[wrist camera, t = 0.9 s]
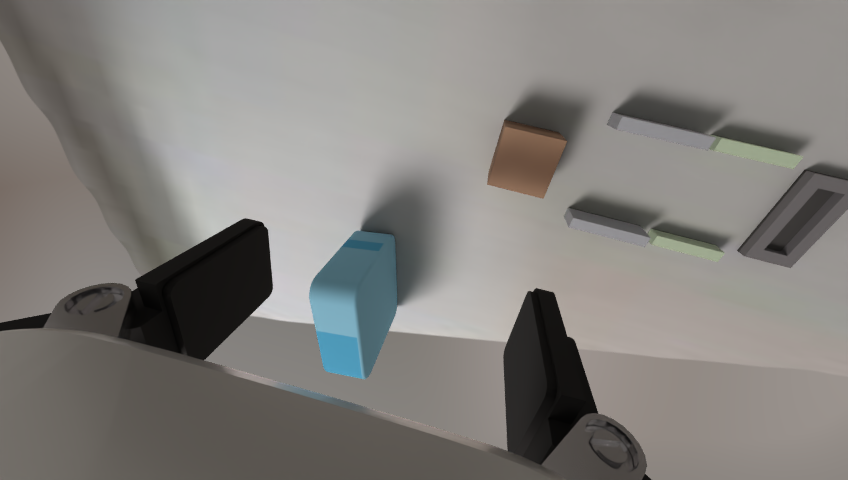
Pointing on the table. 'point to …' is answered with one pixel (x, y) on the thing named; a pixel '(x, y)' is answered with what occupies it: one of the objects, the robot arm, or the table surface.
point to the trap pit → (798, 219)
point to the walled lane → (644, 128)
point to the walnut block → (525, 158)
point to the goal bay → (734, 149)
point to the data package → (355, 303)
